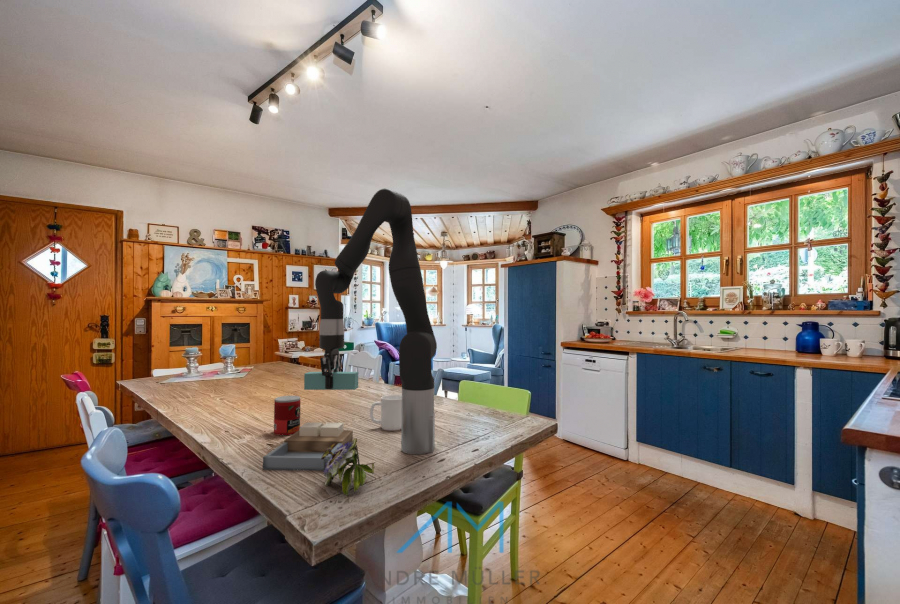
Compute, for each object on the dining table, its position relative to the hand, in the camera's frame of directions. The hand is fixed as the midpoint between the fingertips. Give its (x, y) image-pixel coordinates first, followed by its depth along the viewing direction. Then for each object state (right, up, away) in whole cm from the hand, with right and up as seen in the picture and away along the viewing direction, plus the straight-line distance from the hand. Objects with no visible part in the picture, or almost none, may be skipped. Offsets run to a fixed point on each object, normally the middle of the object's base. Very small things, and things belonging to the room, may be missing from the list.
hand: (331, 387), depth 121 cm
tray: (0, -14, -23) cm, 27 cm away
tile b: (-2, -11, -11) cm, 16 cm away
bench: (0, -14, -13) cm, 19 cm away
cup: (+17, -16, +8) cm, 24 cm away
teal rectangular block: (0, 0, 0) cm, 0 cm away
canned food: (-15, -15, +2) cm, 21 cm away
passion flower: (+15, -14, -36) cm, 41 cm away
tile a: (+4, -11, -11) cm, 16 cm away
